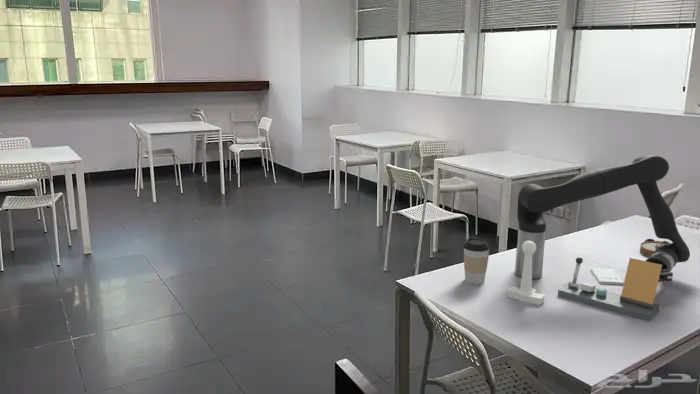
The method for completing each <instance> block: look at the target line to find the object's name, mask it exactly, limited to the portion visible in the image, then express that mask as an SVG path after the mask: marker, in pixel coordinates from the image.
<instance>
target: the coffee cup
mask: <svg viewBox="0 0 700 394" xmlns="http://www.w3.org/2000/svg"><path fill="white" fill-rule="evenodd" d="M462 247H463V266H464V268H463V269H464V281H465V282H466V283H467V284H471V285H483V284H484V283H485V281H486V280H485V279H486V274H487V273H486V272H487V269H488V268H487V267H488V263H489V256H490V254H489V252H490V245H489V243H487V241H486V240H484V239H482V238H471V237H469V238H467V239H466V241H465V242H464V244H463V246H462Z"/></svg>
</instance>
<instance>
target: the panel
mask: <svg viewBox="0 0 700 394" xmlns="http://www.w3.org/2000/svg"><path fill="white" fill-rule="evenodd" d="M569 282H572V281H571V280H570V281H569ZM569 282H567V283H566V284H565V285H563V286H562V287H560V288H559V289H558V290H557V296H558V297H562V298H565V299H569V300H572V301H576V302H579V303H583V304H587V305H590V306H593V307H598V308H601V309H604V310H607V311H612V312H614V313H617V314H622V315H625V316H628V317H629V316H630V317H632V318H635V319H636V318H637V319H639V320H643V321H646V322H651V321H652V320H653V319H654V317H656V315H657V314H658V313H659V312H660V309H661V304H658V303H656V302H655V303H653V309H650V308H646V307H643V306H639V305H635V304H632V303H628V302H624V301H620V296H621V294H622V293H621V294H620V293H617V292H613V291H609V290H607V294H606V296H605V297H601V296H598V295H596V291H597V289H598V288H597V287H596V289H595V291H592V292H588V291H585V290H581V289H579V288H580V284H581V283H578V282H576V284H579V288H578V289H576V288H572V287H568V283H569Z"/></svg>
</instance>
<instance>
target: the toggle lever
mask: <svg viewBox="0 0 700 394" xmlns="http://www.w3.org/2000/svg"><path fill="white" fill-rule="evenodd" d="M575 262H576V263H575V269H574V273H573V278H572V281H571V282H570V281H569V282H567V283H568V287H572V288H576V289H578V288H579V284H580V283H579V284H576V283H577V282H578V281H577V280H578V277H579V273H580V267H581V264H583V262H584V258H582V257H580V256H578V257H576V258H575Z"/></svg>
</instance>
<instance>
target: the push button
mask: <svg viewBox="0 0 700 394" xmlns="http://www.w3.org/2000/svg"><path fill="white" fill-rule="evenodd" d="M607 291H608V290H607V289H605V288H600V287H599V288H598V289H597V291H596V295H598V296H601V297H605V296H606V294H607Z"/></svg>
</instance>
